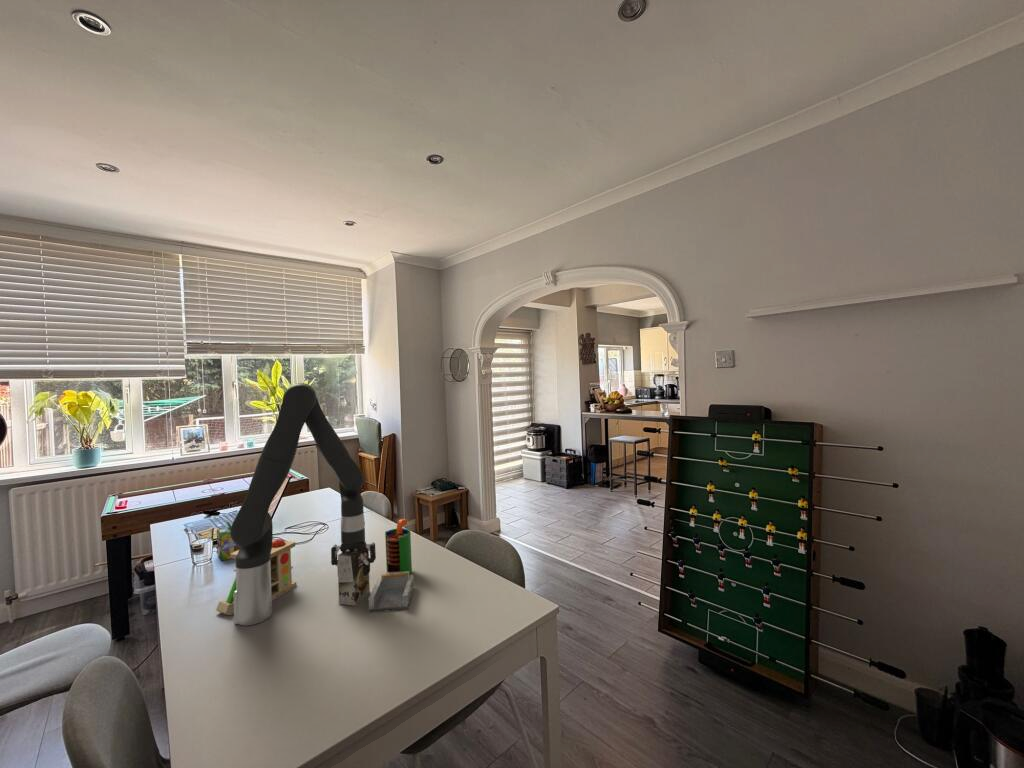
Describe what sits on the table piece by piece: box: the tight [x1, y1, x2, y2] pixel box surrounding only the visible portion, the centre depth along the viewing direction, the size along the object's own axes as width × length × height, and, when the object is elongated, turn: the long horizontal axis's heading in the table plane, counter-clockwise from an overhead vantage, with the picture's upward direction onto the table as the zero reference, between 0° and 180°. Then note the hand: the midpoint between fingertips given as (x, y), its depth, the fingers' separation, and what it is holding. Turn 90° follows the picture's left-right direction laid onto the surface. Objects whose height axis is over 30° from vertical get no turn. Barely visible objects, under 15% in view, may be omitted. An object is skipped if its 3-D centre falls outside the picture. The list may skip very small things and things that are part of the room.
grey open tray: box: [368, 571, 415, 613], centre depth 140 cm, size 12×14×6 cm
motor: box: [384, 518, 413, 575], centre depth 159 cm, size 10×9×20 cm
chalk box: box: [216, 520, 240, 562], centre depth 180 cm, size 9×9×15 cm
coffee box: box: [337, 548, 371, 606], centre depth 141 cm, size 9×6×16 cm
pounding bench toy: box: [216, 538, 297, 616], centre depth 143 cm, size 23×14×18 cm, turn 163°
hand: (354, 575), depth 141 cm, fingers open, 7 cm apart
